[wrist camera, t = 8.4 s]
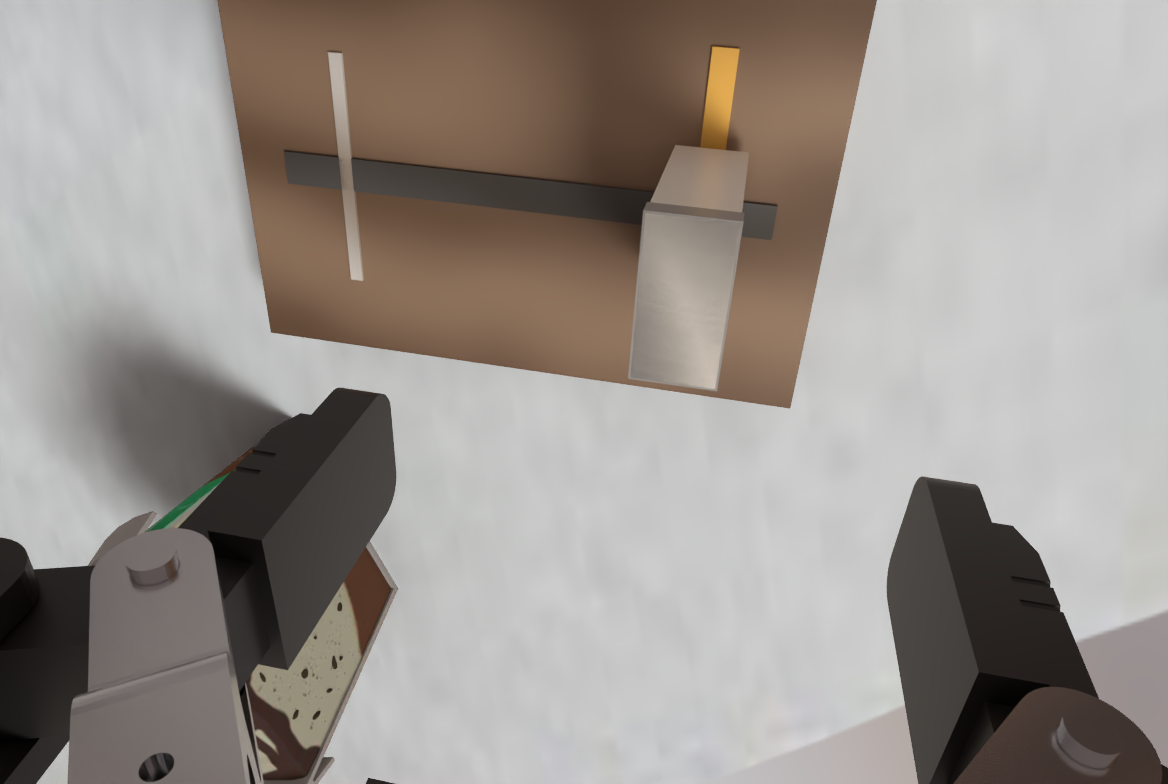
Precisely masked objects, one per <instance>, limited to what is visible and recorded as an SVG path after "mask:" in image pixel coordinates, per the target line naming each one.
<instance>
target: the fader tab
mask: <svg viewBox="0 0 1168 784" xmlns="http://www.w3.org/2000/svg"><path fill="white" fill-rule="evenodd" d="M748 159H749V152H740V151H730V150H720V149H710V148H700V147H691V146H681V145H675V147H674V149H673V152H672V154H671V156H670V158H669V161H668V163H667V165H666V167H665V170H664V172H663V174H662V176H661V179H660V181H659V183H658V186H657V188H656V190H655V192H654V195H653V197H652V199H651V201H650V202H647V203H646V205H645V208H644V210H643V219H642V230H641V241H640V252H639V263H638V274H637V285H636V296H635V307H634V318H633V329H632V340H631V351H630V362H629V373H628V379H635V380H642V381H648V382H655V383H662V384H669V385H676V386H683V387H690V388H697V389H704V390H710V391H717V388H718V382H719V376H720V369H721V363H722V356H723V350H724V344H725V337H726V331H727V324H728V318H729V312H730V305H731V299H732V293H733V286H734V280H735V273H736V267H737V261H738V254H739V248H740V241H741V235H742V229H743V222H744V213H742V209H743V201H744V192H745V184H746V176H747V167H748Z"/></svg>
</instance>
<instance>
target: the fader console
mask: <svg viewBox="0 0 1168 784" xmlns="http://www.w3.org/2000/svg"><path fill="white" fill-rule="evenodd" d="M876 1H877V0H218V6H219V12H220V18H221V24H222V31H223V37H224V43H225V49H226V55H227V62H228V68H229V74H230V80H231V86H232V93H233V99H234V105H235V111H236V118H237V124H238V130H239V136H240V142H241V149H242V155H243V161H244V167H245V173H246V180H247V186H248V192H249V198H250V204H251V211H252V217H253V223H254V229H255V236H256V242H257V248H258V254H259V260H260V267H261V273H262V279H263V285H264V291H265V298H266V304H267V310H268V316H269V322H270V329H271V332H272V333H279V334H285V335H292V336H299V337H306V338H313V339H320V340H326V341H333V342H340V343H347V344H354V345H361V346H367V347H374V348H381V349H388V350H395V351H402V352H408V353H415V354H422V355H429V356H436V357H443V358H449V359H456V360H463V361H470V362H477V363H484V364H490V365H497V366H504V367H511V368H518V369H525V370H531V371H538V372H545V373H552V374H559V375H566V376H573V377H579V378H586V379H593V380H600V381H607V382H614V383H620V384H627V385H634V386H641V387H648V388H655V389H661V390H668V391H675V392H682V393H689V394H696V395H702V396H709V397H716V398H723V399H730V400H737V401H743V402H750V403H757V404H764V405H771V406H778V407H784V408H790V406H791V402H792V397H793V392H794V387H795V383H796V378H797V373H798V369H799V364H800V359H801V354H802V350H803V345H804V340H805V336H806V331H807V326H808V321H809V317H810V312H811V307H812V303H813V298H814V293H815V288H816V284H817V279H818V274H819V270H820V265H821V260H822V255H823V251H824V246H825V241H826V237H827V232H828V227H829V223H830V218H831V213H832V208H833V204H834V199H835V194H836V190H837V185H838V180H839V175H840V171H841V166H842V161H843V157H844V152H845V147H846V142H847V138H848V133H849V128H850V124H851V119H852V114H853V109H854V105H855V100H856V95H857V91H858V86H859V81H860V76H861V72H862V67H863V62H864V58H865V53H866V48H867V44H868V39H869V34H870V29H871V25H872V20H873V15H874V11H875V6H876ZM675 145H681V146H691V147H700V148H710V149H720V150H730V151H740V152H749V159H748V167H747V176H746V184H745V192H744V201H743V209H742V213H744V222H743V229H742V235H741V241H740V248H739V254H738V261H737V267H736V273H735V280H734V286H733V293H732V299H731V305H730V312H729V318H728V324H727V331H726V337H725V344H724V350H723V356H722V363H721V369H720V376H719V382H718V388H717V391H710V390H704V389H697V388H690V387H683V386H676V385H669V384H662V383H655V382H648V381H642V380H635V379H628V373H629V362H630V351H631V340H632V329H633V318H634V307H635V296H636V285H637V274H638V263H639V252H640V241H641V230H642V219H643V210H644V208H645V205H646V203H647V202H650V201H651V199H652V197H653V195H654V192H655V190H656V188H657V186H658V183H659V181H660V179H661V176H662V174H663V172H664V170H665V167H666V165H667V163H668V161H669V158H670V156H671V154H672V152H673V149H674V147H675Z"/></svg>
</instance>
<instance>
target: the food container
mask: <svg viewBox="0 0 1168 784" xmlns="http://www.w3.org/2000/svg"><path fill="white" fill-rule="evenodd" d="M256 445H257V444H256ZM256 445H255V446H256ZM255 446H254V447H255ZM254 447H252V448H251V449H250V450H249V451H247V452H246V453H245V454H243V455H242V456H241V457H240V458H238V459H237V460H236V461H235V462H233V463H232V464H231V465H229V466H228V467H227V468H226V469H224V470H223V471H222V472H220V473H219V474H218V475H217V476H215V477H214V478H213V479H211V480H210V481H209V482H208V483H206V484H205V485H204V486H203V487H201V488H200V489H199V490H197V491H196V492H195V493H194V494H192V495H191V496H190V497H188V498H187V499H186V500H185V501H183V502H182V503H181V504H179V505H178V506H177V507H176V508H174V509H173V510H172V511H171V512H169V513H168V514H167V515H165V516H164V517H163V518H162V519H160V520H159V521H158V522H156V523H155V524H154V525H153V526H151V527H150V528H149V529H147V528H148V527H149V525H150V524H151V522H152V521H153V519H154V518H155V516H156V513H155V512H154V511H152V512H149V513H146V514H143V515H140V516H137V517H135V518H133V519H131V520H129V521H128V522H126V523H124V524H123V525H121V526H119V527H118V528H117V529H116V530H115V531H114V532H113V533H112V534H111V535H110V536H109V537H108V538H107V539H106V540H105V541H104V543H103V544H102V546H101V547H100V548H99V550H98V551H97V553H96V554H95V556H94V557H93V559H92V560H91V562H90V563H89V565H88V566H95V565H96V564H97V563H98V561H99V560H100V559H101V558H102V557H103V556H104V555H105V554H106V553H107V552H108V551H109V550H111V549H112V548H113V547H115V546H116V545H118V544H120V543H121V542H123V541H125V540H127V539H129V538H131V537H134V536H136V535H139V534H142V533H145V532H149V531H153V530H159V529H167V528H178V527H179V526H180V525H181V524H182V523H183V522H184V521H185V520H186V519H187V517H188V516H189V515H190V514H191V513H192V512H193V511H194V510H195V509H196V508H197V507H198V506H199V505H200V504H201V503H202V502H203V501H204V500H205V499H206V498H207V496H208V495H209V494H210V493H211V492H212V491H213V490H214V489H215V488H216V487H217V486H218V485H219V484H220V483H221V482H222V481H223V480H224V479H225V478H226V477H227V475H228V474H229V473H230V472H231V471H235V470H236V466H237V465H238V464H239V463H240V462H241V461H242V460H243V459H244V458H245V457H246V455H247V454H251V453H252V449H253V448H254ZM397 590H398V587H397V586H396V584H395V582H394V581H393V579H392V577H391V576H390V574H389V572H388V571H387V569H386V567H385V566H384V564H383V562H382V561H381V559H380V557H379V556H378V554H377V552H376V551H375V549H374V547H373V546H372V544H371V542H370V541H369V543H368V544H367V546H366V547H365V549H364V550H363V552H362V554H361V555H360V557H359V558H358V560H357V562H356V563H355V565H354V566H353V568H352V569H351V571H350V573H349V574H348V576H347V577H346V579H345V581H344V582H343V584H342V585H341V587H340V589H339V590H338V592H337V593H336V595H335V596H334V598H333V600H332V601H331V603H330V604H329V606H328V608H327V609H326V611H325V612H324V614H323V615H322V617H321V619H320V620H319V622H318V623H317V625H316V627H315V628H314V630H313V631H312V633H311V635H310V636H309V638H308V639H307V641H306V642H305V644H304V646H303V647H302V649H301V650H300V652H299V654H298V655H297V657H296V658H295V660H294V661H293V663H292V665H291V666H290V668H289V669H288V670H284V669H279V668H274V667H269V666H264V665H259V664H258V665H257V667H256V668H255V670H254V671H253V673H252V674H251V676H250V677H249V679H248V680H247V682H246V686H247V690H248V694H249V700H250V706H251V712H252V718H253V723H254V729H255V735H256V741H257V746H258V752H259V758H260V764H261V770H262V775H263V781H264V784H318V783H319V781H320V780H321V778H322V777H323V776H324V774H325V773H326V772H327V770H328V769H329V768H330V766H331V765H332V764H333V762H334V761H335V760H334V758H333V757H323V756H324V754H325V751H326V749H327V747H328V745H329V742H330V740H331V738H332V736H333V733H334V731H335V729H336V727H337V724H338V722H339V720H340V718H341V715H342V713H343V711H344V709H345V706H346V704H347V702H348V700H349V697H350V695H351V693H352V691H353V688H354V686H355V684H356V682H357V679H358V677H359V675H360V673H361V670H362V668H363V666H364V664H365V661H366V659H367V657H368V655H369V652H370V650H371V648H372V646H373V643H374V641H375V639H376V637H377V635H378V632H379V630H380V628H381V626H382V623H383V621H384V619H385V617H386V614H387V612H388V610H389V608H390V605H391V603H392V601H393V599H394V596H395V594H396V592H397Z"/></svg>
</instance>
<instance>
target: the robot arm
mask: <svg viewBox="0 0 1168 784" xmlns="http://www.w3.org/2000/svg"><path fill="white" fill-rule="evenodd" d="M395 486H396V465H395V454H394V442H393V430H392V418H391V408H390V402H389V400H388V398H387V396H386V395H384V394H379V393H372V392H366V391H359V390H352V389H346V388H337V389H335V390H334V391H333V392H332V393H331V394H330V395H329V396H328V397H327V398H326V399H325V400H324V401H323V403H322V404H321V405H320V406H319V407H318V408H317V409H316V410H315V411H314V413H313V414H312V415H308V414H302V413H300V414H299V415H297V416H295V417H293V418H291V419H289V420H288V421H286V422H284V423H282V424H280V425H278V426H277V427H275V428H273V429H271V430H270V431H269V432H268V433H267V434H266V436H265V437H264V438H263V439H262V440H261V441H260V442H259V443H258V444H257V445H256V446H255V447H254V448H253V449H252V453H251V454H247V455H246V457H245V458H244V459H243V460H242V461H241V462H240V463H239V464H238V465H237V466H236V470H235V471H231V472H230V473H229V474H228V475H227V477H226V478H225V479H224V480H223V481H222V482H221V483H220V484H219V485H218V486H217V487H216V488H215V489H214V490H213V491H212V492H211V493H210V494H209V495H208V496H207V498H206V499H205V500H204V501H203V502H202V503H201V504H200V505H199V506H198V507H197V508H196V509H195V510H194V511H193V512H192V513H191V514H190V515H189V516H188V517H187V519H186V520H185V521H184V522H183V523H182V524H181V525H180V526H179V527H178V528H167V529H159V530H153V531H149V532H145V533H142V534H139V535H136V536H134V537H131V538H129V539H127V540H125V541H123V542H121V543H120V544H118V545H116V546H115V547H113V548H112V549H111V550H109V551H108V552H107V553H106V554H105V555H104V556H103V557H102V558H101V559H100V560H99V561H98V563H97V564H96V565H95V566H80V567H65V568H50V569H35V570H33V567H32V565H31V562H30V560H29V557H28V555H27V552H26V550H25V549H24V547H23V546H22V545H20V544H19V543H18V542H15V541H13V540H10V539H5V538H0V784H36V783H37V782H38V780H39V779H40V778H41V776H42V775H43V774H44V773H45V771H46V770H47V769H48V767H49V766H50V765H51V763H52V762H53V761H54V759H55V758H56V757H57V756H58V754H59V753H60V752H61V750H62V749H63V748H64V746H65V745H66V744H67V742H68V741H69V763H68V784H264V781H263V775H262V770H261V764H260V758H259V752H258V746H257V741H256V735H255V729H254V723H253V718H252V712H251V706H250V700H249V694H248V690H247V686H246V682H247V680H248V679H249V677H250V676H251V674H252V673H253V671H254V670H255V668H256V667H257V665H258V664H259V665H264V666H269V667H274V668H279V669H284V670H288V669H289V668H290V666H291V665H292V663H293V661H294V660H295V658H296V657H297V655H298V654H299V652H300V650H301V649H302V647H303V646H304V644H305V642H306V641H307V639H308V638H309V636H310V635H311V633H312V631H313V630H314V628H315V627H316V625H317V623H318V622H319V620H320V619H321V617H322V615H323V614H324V612H325V611H326V609H327V608H328V606H329V604H330V603H331V601H332V600H333V598H334V596H335V595H336V593H337V592H338V590H339V589H340V587H341V585H342V584H343V582H344V581H345V579H346V577H347V576H348V574H349V573H350V571H351V569H352V568H353V566H354V565H355V563H356V562H357V560H358V558H359V557H360V555H361V554H362V552H363V550H364V549H365V547H366V546H367V544H368V543H369V541H370V539H371V538H372V536H373V535H374V533H375V531H376V530H377V528H378V527H379V525H380V523H381V522H382V520H383V519H384V517H385V516H386V514H387V512H388V510H389V508H390V506H391V503H392V500H393V496H394V492H395ZM1050 583H1051V582H1050V580H1049V577H1048V575H1047V572H1046V570H1045V567H1044V565H1043V563H1042V560H1041V558H1040V555H1039V553H1038V552H1037V551H1036V550H1035V549H1034V548H1033V547H1032V546H1031V545H1030V544H1029V543H1028V542H1027V541H1026V540H1025V539H1024V537H1023V536H1022V535H1021V534H1020V533H1019V532H1018V531H1017V530H1016V529H1015V528H1014V527H1013V526H1010V525H1004V524H997V523H992V522H991V519H990V516H989V514H988V511H987V508H986V505H985V502H984V500H983V497H982V494H981V491H980V489H979V488H978V486H977V485H975V484H968V483H962V482H955V481H948V480H942V479H935V478H928V477H920V478H919V479H918V480H917V482H916V483H915V485H914V488H913V491H912V494H911V497H910V500H909V503H908V506H907V509H906V512H905V515H904V518H903V521H902V524H901V527H900V531H899V534H898V537H897V540H896V543H895V546H894V549H893V552H892V555H891V559H890V563H889V568H888V576H887V600H888V606H889V612H890V618H891V624H892V630H893V636H894V642H895V648H896V654H897V660H898V666H899V671H900V677H901V683H902V689H903V695H904V701H905V707H906V713H907V719H908V725H909V730H910V736H911V742H912V748H913V754H914V760H915V766H916V772H917V778H918V784H1168V768H1167V767H1165V766H1163V765H1162V764H1161V762H1160V759H1159V757H1158V755H1157V752H1156V750H1155V748H1154V747H1153V745H1152V743H1151V742H1150V740H1149V739H1148V738H1147V737H1146V735H1145V734H1144V733H1143V732H1142V731H1141V729H1140V728H1139V727H1138V726H1137V725H1136V724H1135V723H1134V722H1132V721H1131V720H1130V719H1129V718H1128V717H1126V716H1125V715H1124V714H1123V713H1121V712H1120V711H1118V710H1117V709H1115V708H1114V707H1113V706H1111V705H1109V704H1107V703H1106V702H1104V701H1102V700H1100V699H1099V698H1098V695H1097V693H1096V690H1095V688H1094V686H1093V683H1092V681H1091V678H1090V676H1089V674H1088V671H1087V669H1086V666H1085V664H1084V662H1083V659H1082V657H1081V654H1080V652H1079V649H1078V647H1077V645H1076V642H1075V640H1074V637H1073V635H1072V633H1071V630H1070V628H1069V625H1068V623H1067V620H1066V618H1065V616H1064V613H1063V612H1060V604H1059V601H1058V599H1057V596H1056V594H1055V592H1054V589H1053V588H1050ZM366 784H394V783H389V782H385V781H380V780H375V779H371V778H368V780H367V782H366Z"/></svg>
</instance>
